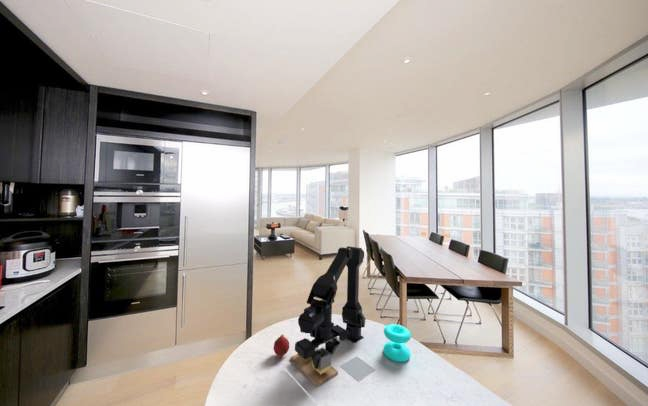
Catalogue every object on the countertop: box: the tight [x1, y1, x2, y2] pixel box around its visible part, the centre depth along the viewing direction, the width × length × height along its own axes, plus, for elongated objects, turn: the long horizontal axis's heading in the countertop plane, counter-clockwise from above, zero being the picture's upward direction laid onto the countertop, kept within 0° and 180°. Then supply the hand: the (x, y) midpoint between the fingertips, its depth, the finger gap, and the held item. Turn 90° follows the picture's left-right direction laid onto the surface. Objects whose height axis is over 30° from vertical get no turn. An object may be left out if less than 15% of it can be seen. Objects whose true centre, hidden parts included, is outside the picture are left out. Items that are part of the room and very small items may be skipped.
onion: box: [273, 333, 290, 357], centre depth 87 cm, size 6×6×8 cm
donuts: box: [382, 323, 412, 363], centre depth 90 cm, size 10×10×10 cm
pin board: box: [289, 338, 339, 388], centre depth 81 cm, size 9×16×6 cm, turn 40°
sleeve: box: [312, 346, 332, 375], centre depth 78 cm, size 4×4×5 cm
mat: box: [339, 355, 376, 383], centre depth 81 cm, size 9×9×1 cm
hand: (321, 365), depth 78 cm, fingers closed on sleeve, 4 cm apart
